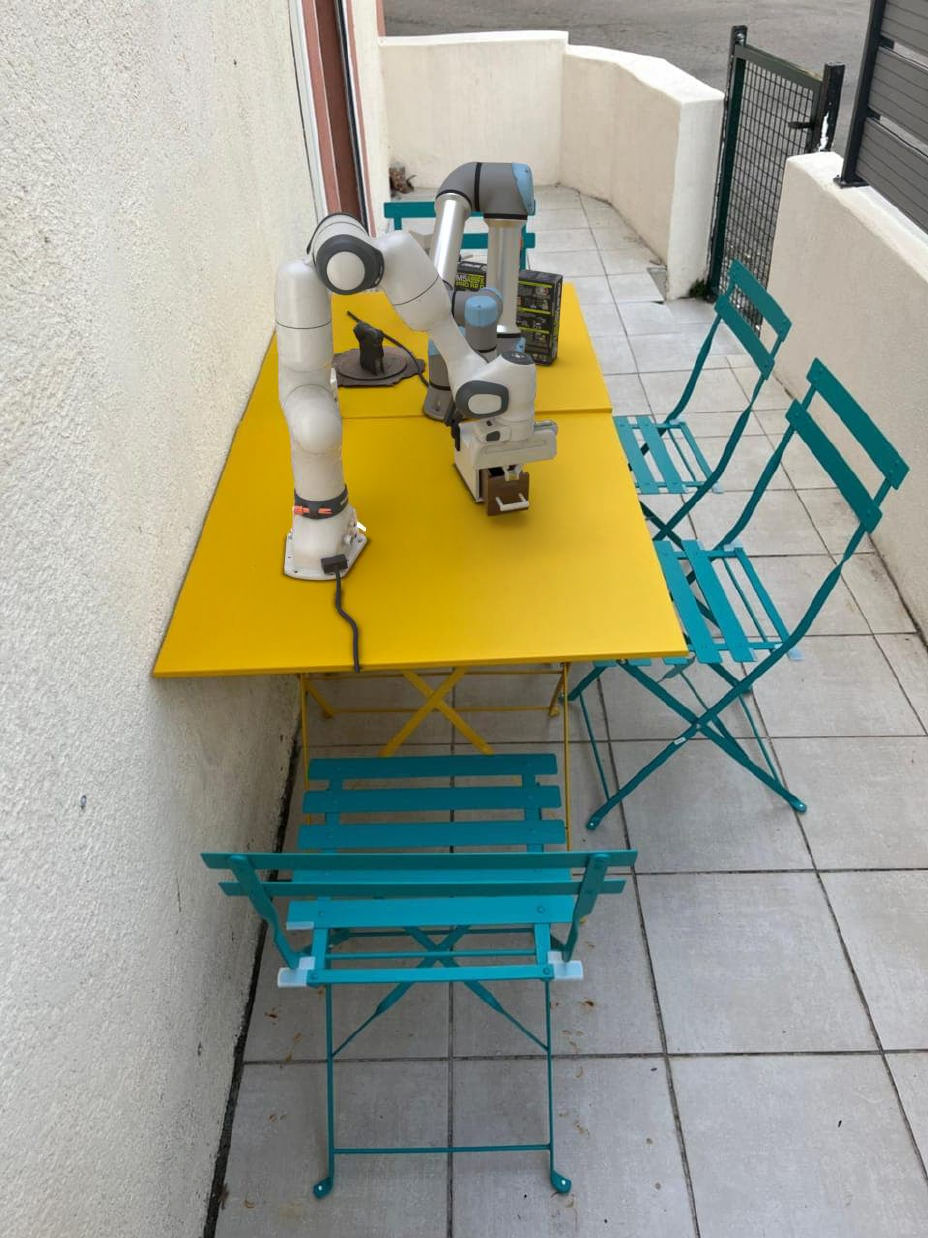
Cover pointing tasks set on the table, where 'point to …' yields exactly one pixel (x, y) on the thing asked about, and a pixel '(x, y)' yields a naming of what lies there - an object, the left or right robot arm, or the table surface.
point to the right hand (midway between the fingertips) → (480, 445)
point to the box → (526, 306)
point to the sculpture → (373, 360)
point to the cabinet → (467, 461)
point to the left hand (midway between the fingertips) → (511, 479)
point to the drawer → (503, 491)
